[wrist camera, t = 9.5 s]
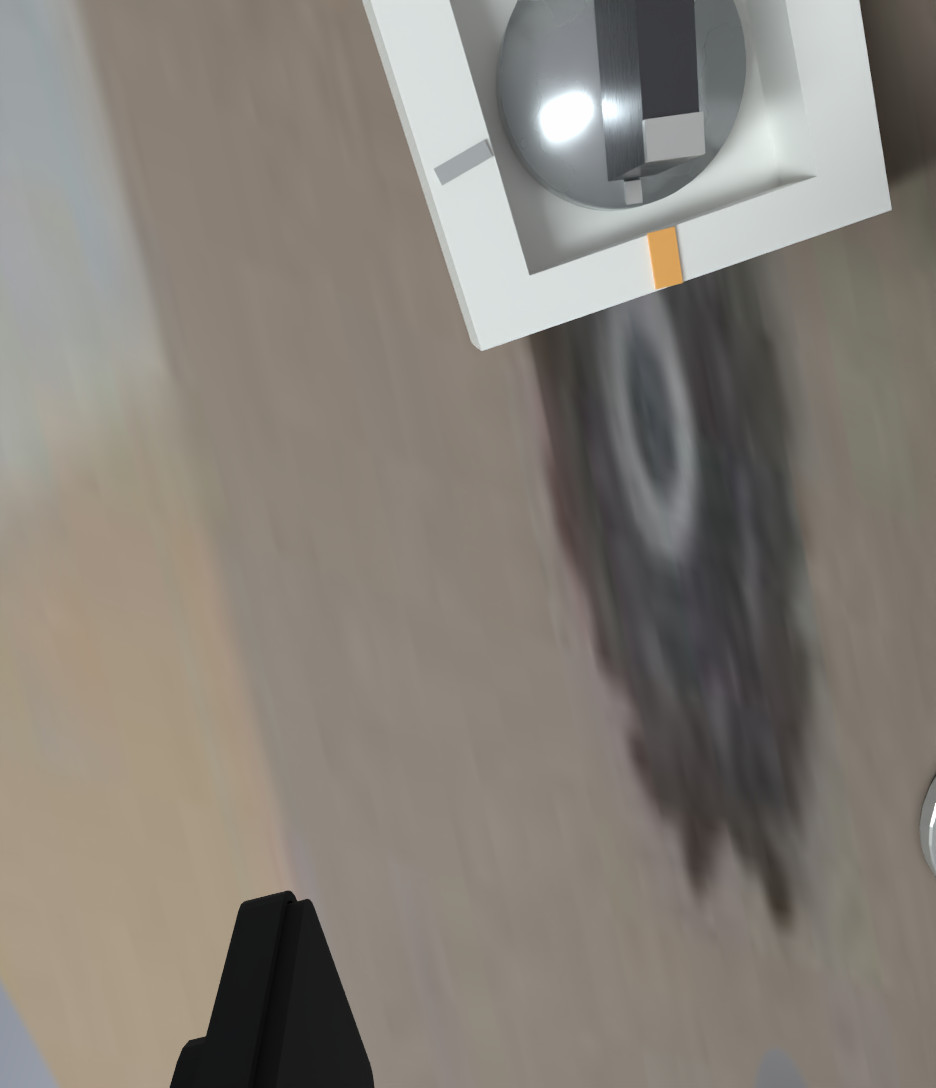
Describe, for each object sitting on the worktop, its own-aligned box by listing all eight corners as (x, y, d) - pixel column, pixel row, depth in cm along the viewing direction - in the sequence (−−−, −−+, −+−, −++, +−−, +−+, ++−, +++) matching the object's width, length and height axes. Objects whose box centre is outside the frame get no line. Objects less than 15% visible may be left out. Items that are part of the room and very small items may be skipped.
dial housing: (831, 219, 35) (894, 210, 31) (471, 343, 36) (482, 351, 31) (757, -198, 31) (818, -280, 26) (345, -51, 31) (336, -108, 27)
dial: (481, -40, 30) (503, -129, 24) (726, -72, 30) (814, -168, 24) (511, 226, 33) (538, 211, 26) (736, 194, 33) (816, 172, 27)
